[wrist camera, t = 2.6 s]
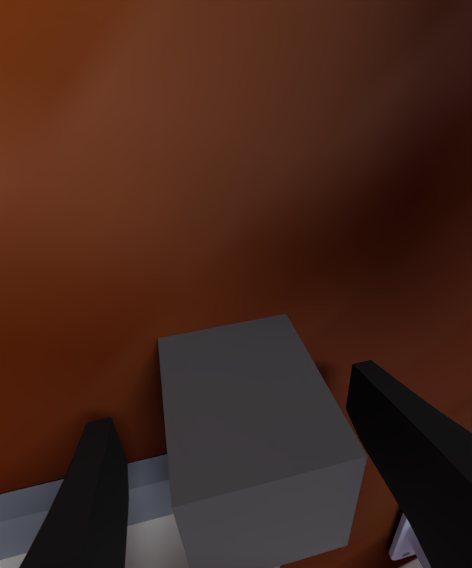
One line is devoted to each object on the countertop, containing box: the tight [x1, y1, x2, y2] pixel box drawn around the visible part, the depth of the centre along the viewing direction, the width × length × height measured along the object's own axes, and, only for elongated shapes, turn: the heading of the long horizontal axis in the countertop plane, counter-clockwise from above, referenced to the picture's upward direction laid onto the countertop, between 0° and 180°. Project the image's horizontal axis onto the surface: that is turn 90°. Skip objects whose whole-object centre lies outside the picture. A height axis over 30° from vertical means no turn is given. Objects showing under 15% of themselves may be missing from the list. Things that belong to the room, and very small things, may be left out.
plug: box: [158, 314, 367, 568], centre depth 11 cm, size 4×4×5 cm
